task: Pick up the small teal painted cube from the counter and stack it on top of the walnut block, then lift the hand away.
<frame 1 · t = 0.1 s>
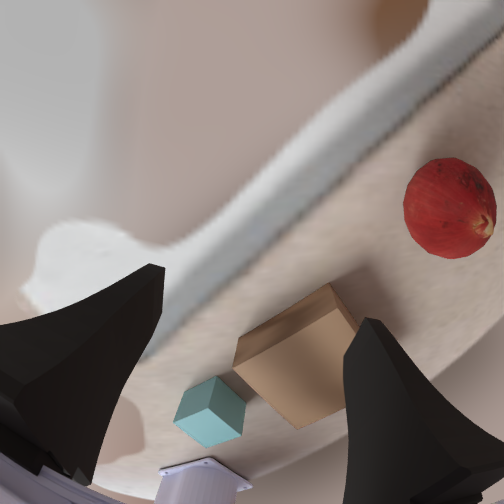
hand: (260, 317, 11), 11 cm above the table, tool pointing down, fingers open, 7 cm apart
walnut block: (311, 346, 24), on the table
onion: (423, 197, 19), on the table
teal cube: (215, 397, 26), on the table
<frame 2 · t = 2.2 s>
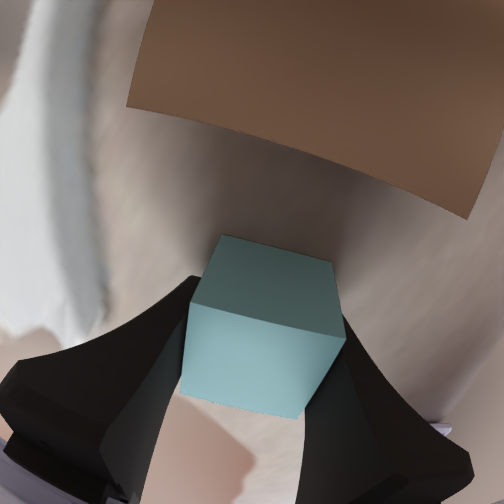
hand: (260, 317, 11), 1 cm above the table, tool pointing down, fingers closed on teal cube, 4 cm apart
walnut block: (338, 23, 8), on the table
teal cube: (264, 293, 12), on the table, touching gripper
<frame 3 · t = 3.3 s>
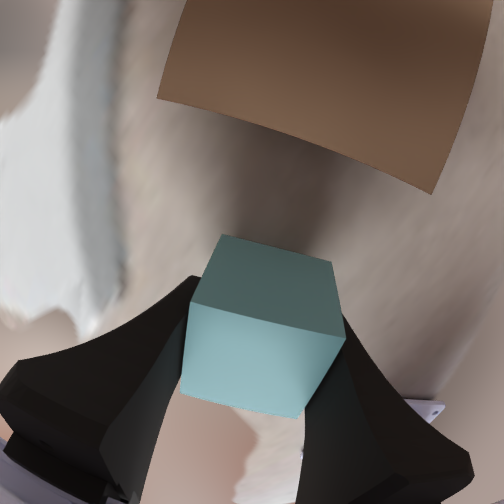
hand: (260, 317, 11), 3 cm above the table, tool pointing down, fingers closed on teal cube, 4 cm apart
walnut block: (330, 33, 9), on the table
teal cube: (264, 293, 12), point 2 cm above the table, touching gripper
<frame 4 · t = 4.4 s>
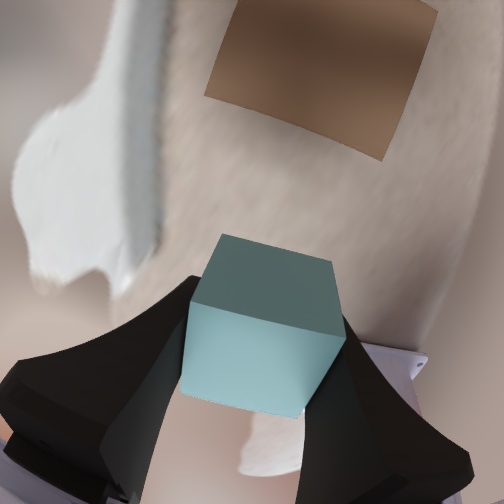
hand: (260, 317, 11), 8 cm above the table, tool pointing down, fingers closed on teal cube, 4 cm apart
walnut block: (318, 53, 14), on the table
teal cube: (264, 292, 12), point 7 cm above the table, touching gripper
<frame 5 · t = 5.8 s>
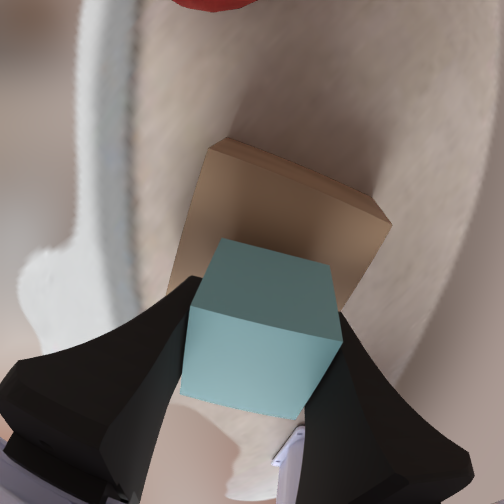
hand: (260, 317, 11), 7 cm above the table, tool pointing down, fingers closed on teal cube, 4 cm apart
walnut block: (273, 231, 17), on the table
teal cube: (263, 295, 12), point 5 cm above the table, touching gripper
when the fingers open (6 cm above the table, at t = 6.8 s): teal cube drops 1 cm, resting on walnut block.
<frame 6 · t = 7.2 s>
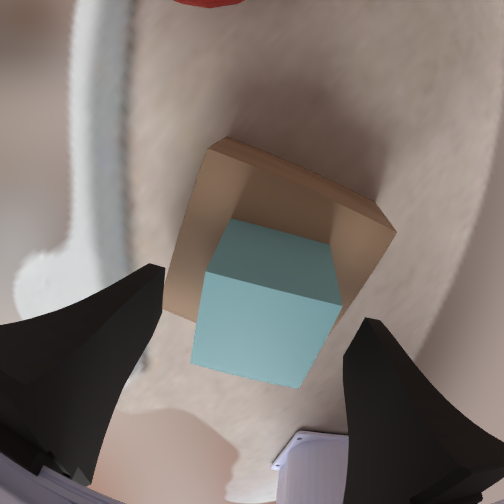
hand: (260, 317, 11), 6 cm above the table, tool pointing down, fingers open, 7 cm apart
walnut block: (272, 235, 17), on the table, touching teal cube
teal cube: (267, 273, 13), point 4 cm above the table, touching walnut block
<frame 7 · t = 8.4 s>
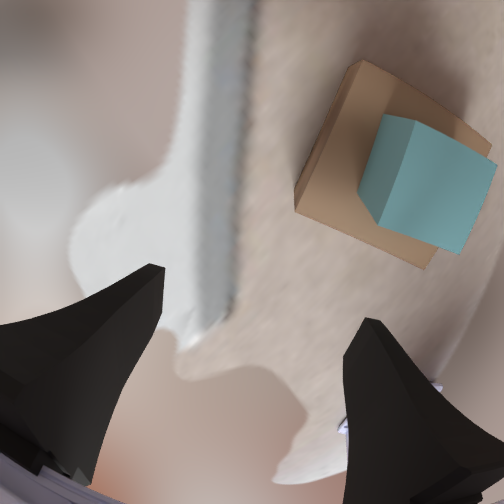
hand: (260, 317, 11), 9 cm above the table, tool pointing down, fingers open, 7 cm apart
walnut block: (381, 157, 17), on the table, touching teal cube
teal cube: (407, 168, 13), point 4 cm above the table, touching walnut block
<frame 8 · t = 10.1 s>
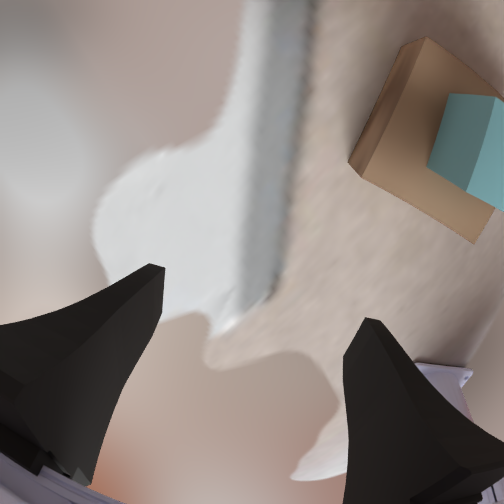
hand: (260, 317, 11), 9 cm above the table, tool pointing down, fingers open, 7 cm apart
walnut block: (429, 135, 16), on the table, touching teal cube
teal cube: (469, 145, 12), point 4 cm above the table, touching walnut block
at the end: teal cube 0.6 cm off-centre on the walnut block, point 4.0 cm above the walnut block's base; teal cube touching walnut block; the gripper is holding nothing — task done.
